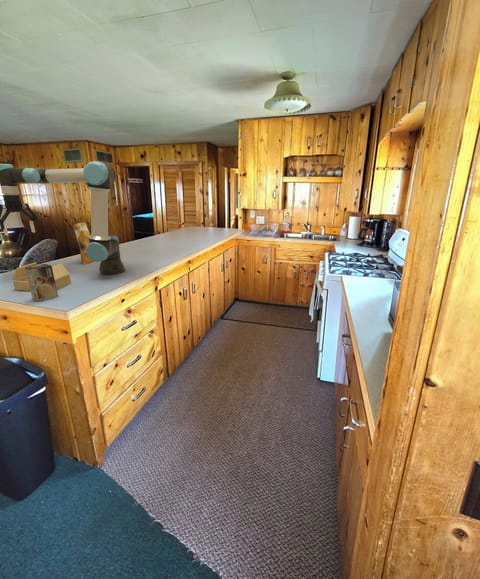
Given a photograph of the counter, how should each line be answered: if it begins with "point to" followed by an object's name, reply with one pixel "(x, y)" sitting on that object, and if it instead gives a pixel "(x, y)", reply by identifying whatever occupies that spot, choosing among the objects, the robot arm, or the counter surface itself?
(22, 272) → the flap
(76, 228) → the pancake mix bag
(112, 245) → the robot arm
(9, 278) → the counter surface
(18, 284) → the tan shallow open box
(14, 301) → the counter surface
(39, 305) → the counter surface
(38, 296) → the coffee box
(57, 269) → the flap
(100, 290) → the counter surface
